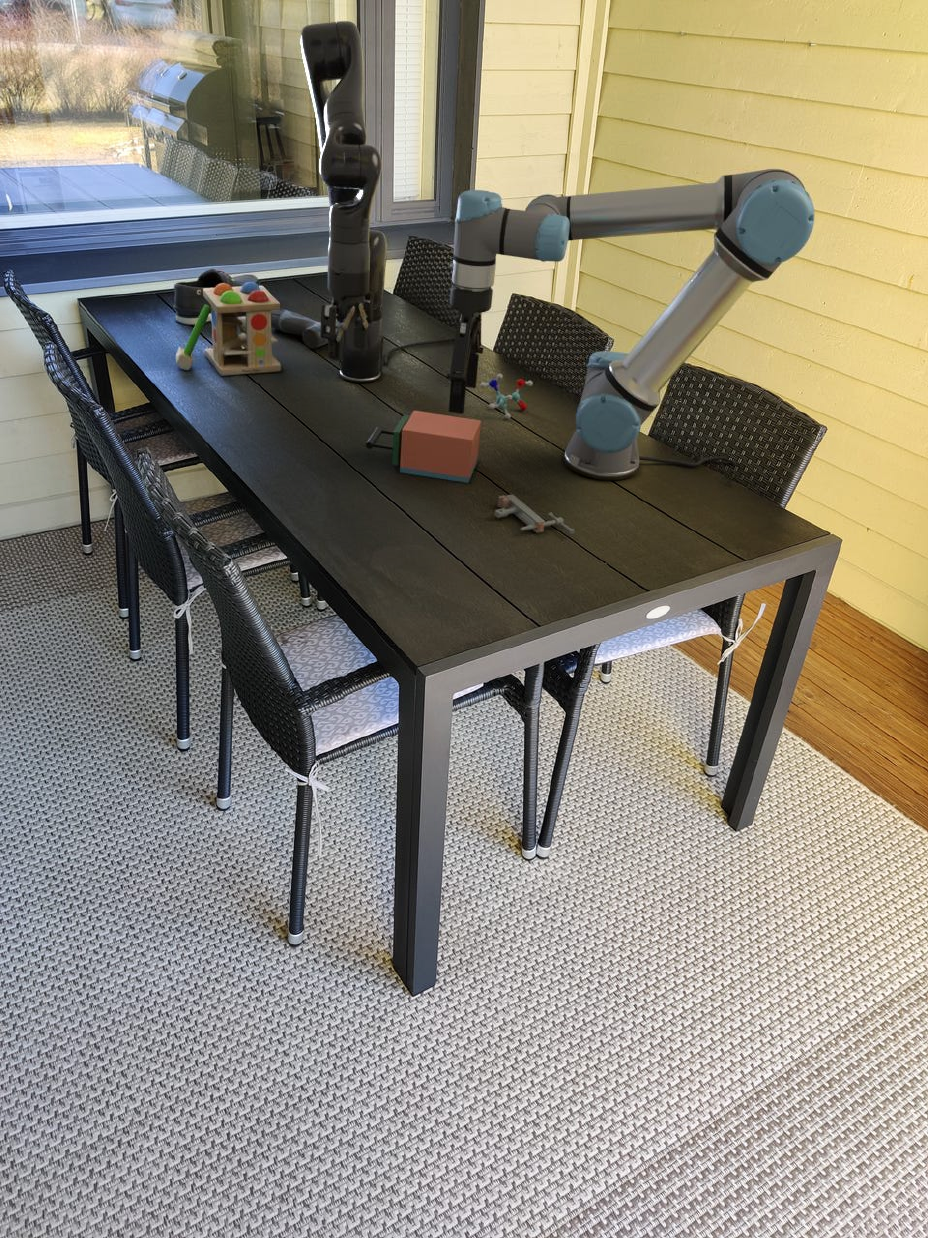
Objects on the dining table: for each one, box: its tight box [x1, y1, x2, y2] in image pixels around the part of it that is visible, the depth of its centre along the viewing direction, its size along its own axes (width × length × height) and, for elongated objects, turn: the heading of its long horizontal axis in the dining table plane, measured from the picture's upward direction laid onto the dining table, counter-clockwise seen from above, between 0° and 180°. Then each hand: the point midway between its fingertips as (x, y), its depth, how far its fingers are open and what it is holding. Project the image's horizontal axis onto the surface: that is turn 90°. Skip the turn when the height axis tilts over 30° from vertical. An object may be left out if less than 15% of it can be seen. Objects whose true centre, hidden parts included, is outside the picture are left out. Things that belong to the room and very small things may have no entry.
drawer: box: [365, 414, 411, 467], centre depth 193 cm, size 18×9×7 cm, turn 80°
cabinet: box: [399, 410, 482, 484], centre depth 192 cm, size 14×10×9 cm
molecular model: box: [480, 373, 533, 420], centre depth 219 cm, size 12×10×10 cm
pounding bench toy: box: [174, 282, 282, 377], centre depth 225 cm, size 23×14×18 cm, turn 116°
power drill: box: [271, 308, 340, 349], centre depth 252 cm, size 5×19×20 cm
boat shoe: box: [173, 268, 262, 325], centre depth 261 cm, size 13×33×10 cm, turn 147°
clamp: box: [494, 494, 575, 535], centre depth 178 cm, size 15×2×10 cm
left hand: (347, 353), depth 185 cm, fingers open, 8 cm apart
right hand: (462, 399), depth 186 cm, fingers open, 13 cm apart
